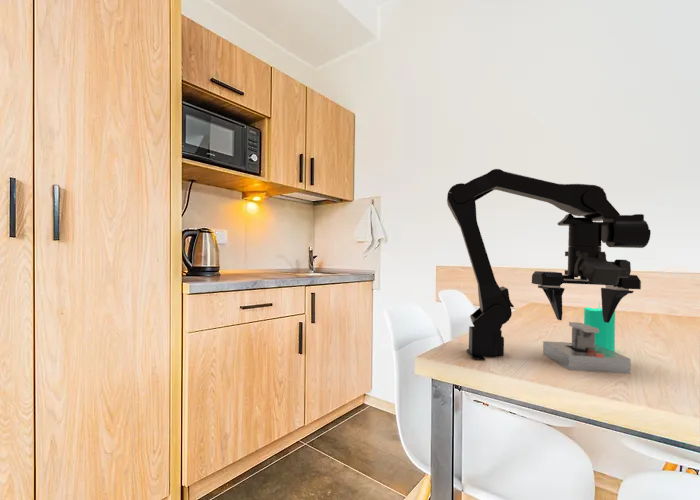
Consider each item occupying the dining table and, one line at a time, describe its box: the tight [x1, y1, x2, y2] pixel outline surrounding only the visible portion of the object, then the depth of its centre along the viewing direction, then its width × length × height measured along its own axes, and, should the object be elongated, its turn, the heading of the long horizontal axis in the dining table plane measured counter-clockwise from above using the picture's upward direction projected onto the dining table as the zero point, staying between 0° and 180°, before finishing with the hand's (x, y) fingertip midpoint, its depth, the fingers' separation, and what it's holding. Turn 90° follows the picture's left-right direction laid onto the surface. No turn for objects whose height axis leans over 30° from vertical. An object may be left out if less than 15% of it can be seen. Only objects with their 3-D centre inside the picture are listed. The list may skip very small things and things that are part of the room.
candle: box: [583, 302, 616, 353], centre depth 82 cm, size 6×6×12 cm
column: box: [568, 321, 599, 352], centre depth 71 cm, size 4×6×8 cm, turn 174°
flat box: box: [542, 340, 631, 375], centre depth 71 cm, size 16×16×4 cm
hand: (582, 321), depth 71 cm, fingers open, 9 cm apart
